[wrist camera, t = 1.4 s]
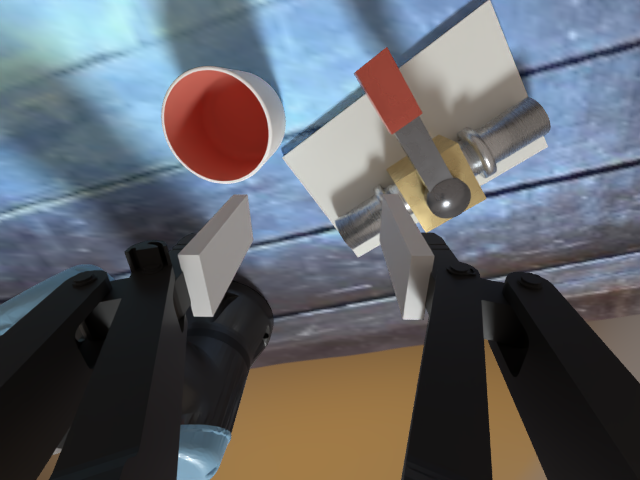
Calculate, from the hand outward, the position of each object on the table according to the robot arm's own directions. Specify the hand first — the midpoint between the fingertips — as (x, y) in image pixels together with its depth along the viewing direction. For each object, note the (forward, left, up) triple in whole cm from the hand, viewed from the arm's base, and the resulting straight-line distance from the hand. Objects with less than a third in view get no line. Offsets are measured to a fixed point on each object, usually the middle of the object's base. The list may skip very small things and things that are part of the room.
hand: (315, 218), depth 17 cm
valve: (+8, -10, -23) cm, 26 cm away
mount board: (+8, -7, -23) cm, 25 cm away
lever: (+8, -4, -15) cm, 18 cm away
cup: (-6, +8, -23) cm, 25 cm away
